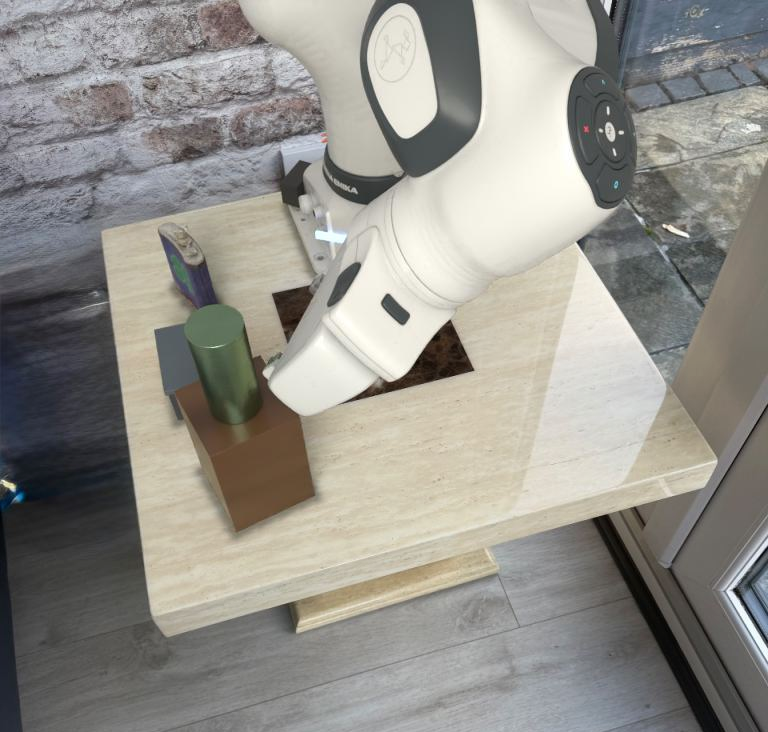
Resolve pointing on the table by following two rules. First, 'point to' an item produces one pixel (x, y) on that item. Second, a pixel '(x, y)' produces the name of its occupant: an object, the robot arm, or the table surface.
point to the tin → (224, 363)
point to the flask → (187, 265)
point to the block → (250, 454)
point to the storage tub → (174, 362)
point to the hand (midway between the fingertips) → (295, 330)
